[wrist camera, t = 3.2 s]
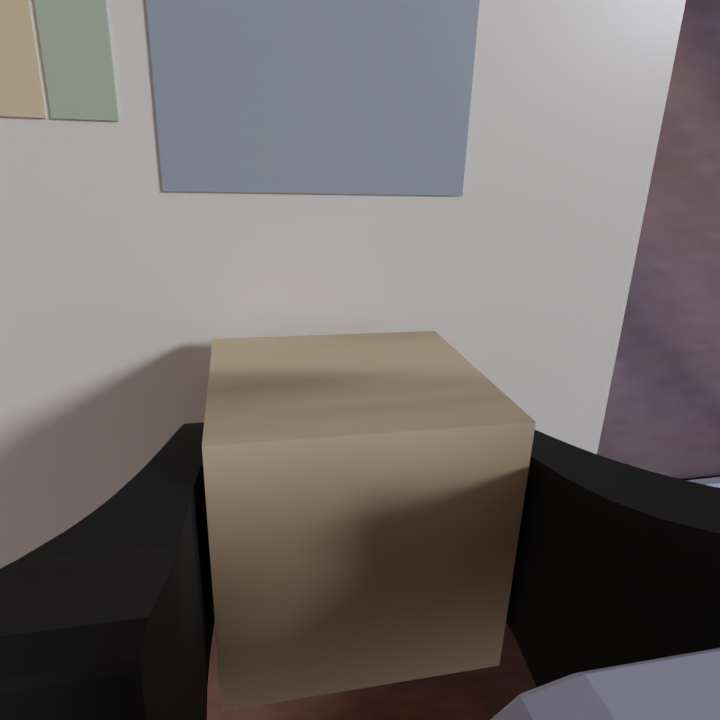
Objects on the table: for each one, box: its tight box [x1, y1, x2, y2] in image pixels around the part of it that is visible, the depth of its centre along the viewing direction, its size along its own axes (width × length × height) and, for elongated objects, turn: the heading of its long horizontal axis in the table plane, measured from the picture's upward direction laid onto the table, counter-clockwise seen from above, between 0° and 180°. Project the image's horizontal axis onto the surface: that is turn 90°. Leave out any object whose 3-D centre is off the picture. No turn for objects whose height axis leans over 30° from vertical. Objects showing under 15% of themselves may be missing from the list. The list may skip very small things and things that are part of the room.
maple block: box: [202, 331, 536, 711], centre depth 10 cm, size 5×5×4 cm
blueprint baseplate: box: [0, 0, 686, 568], centre depth 11 cm, size 24×15×1 cm, turn 178°
